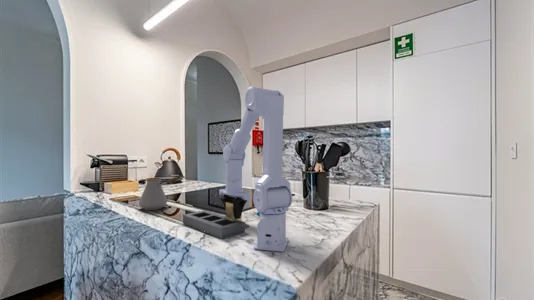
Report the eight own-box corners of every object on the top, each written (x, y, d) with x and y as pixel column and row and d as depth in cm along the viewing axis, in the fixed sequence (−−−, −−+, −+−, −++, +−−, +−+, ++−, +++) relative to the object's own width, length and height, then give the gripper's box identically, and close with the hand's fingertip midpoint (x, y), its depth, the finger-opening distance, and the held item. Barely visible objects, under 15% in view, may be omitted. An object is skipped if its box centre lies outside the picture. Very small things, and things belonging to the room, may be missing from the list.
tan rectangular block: (241, 221, 90) (241, 202, 90) (232, 224, 87) (233, 204, 87) (234, 219, 93) (234, 200, 93) (225, 221, 90) (225, 202, 90)
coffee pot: (132, 209, 106) (132, 174, 106) (152, 204, 117) (152, 172, 117) (174, 214, 99) (174, 176, 99) (191, 208, 110) (192, 173, 110)
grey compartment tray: (245, 231, 79) (245, 222, 79) (221, 239, 72) (222, 228, 72) (205, 218, 94) (205, 210, 94) (182, 223, 87) (182, 214, 87)
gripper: (256, 180, 88) (255, 219, 88) (229, 176, 98) (229, 211, 98) (241, 181, 83) (240, 223, 83) (214, 178, 92) (214, 215, 92)
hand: (233, 217), depth 90 cm, fingers closed on tan rectangular block, 4 cm apart
